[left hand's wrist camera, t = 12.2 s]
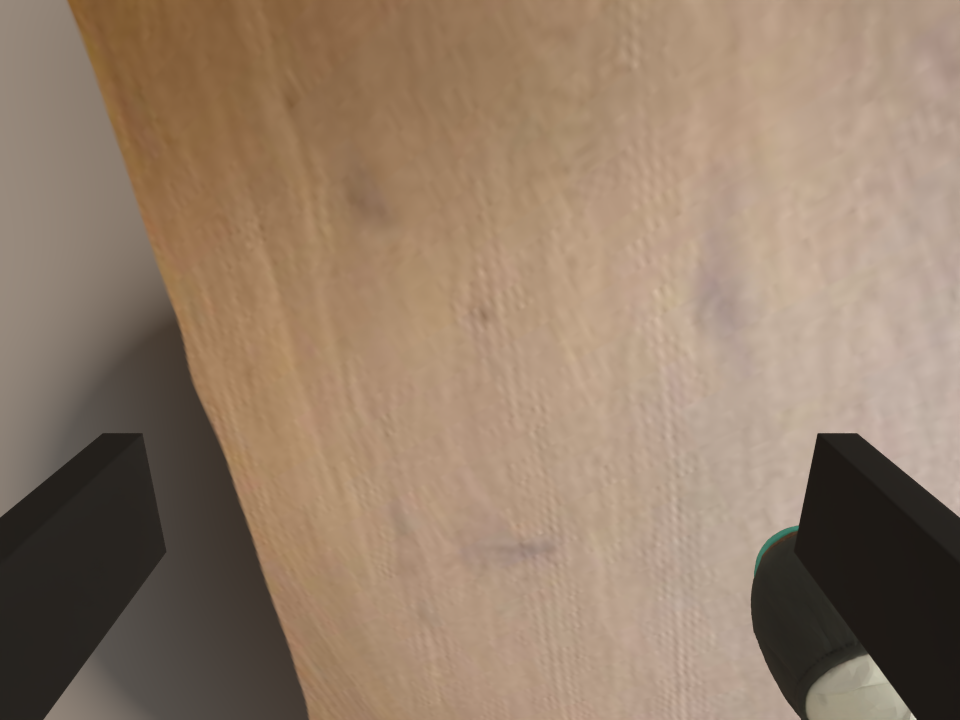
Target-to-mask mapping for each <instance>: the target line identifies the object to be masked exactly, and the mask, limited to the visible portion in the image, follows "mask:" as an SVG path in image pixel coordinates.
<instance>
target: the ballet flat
mask: <svg viewBox="0 0 960 720" xmlns="http://www.w3.org/2000/svg"><path fill="white" fill-rule="evenodd" d="M798 528H799V526H794V527H790V528H787V529H784V530H782V531H780V532H778V533H777V534H775V535H773V536H772V537H771V538H770V539H768V540H767V542H766V543H765V544H764V545H763V547H762V548H761V550H760V552H759V554H758V556H757V559H756V565H755V571H754V579H753V585H752V592H751V615H752V622H753V630H754V633H755V636H756V639H757V640H758V643H759V646H760V649H761V651H762V653H763V656H764V658H765V661H766V663H767V665H768V668H769V670H770V672H771V674H772V675H773V677H774V679H775V681H776V683H777V684H778V686H779V688H780V690H781V692H782V694H783V695H784V697H785V699H786V700H787V702H788V703H789V704H790V705H791V707H792V708H793V709H794V711H795V712H796V713H797V715H798V716H799V717H800V718H801V720H917V719H916V718H915V717H914V715H913V714H912V713H911V711H910V710H909V709H908V707H907V706H906V704H905V703H904V702H903V700H902V699H901V698H900V696H899V695H898V694H897V692H896V691H895V689H894V688H893V687H892V685H891V684H890V683H889V681H888V680H887V678H886V677H885V676H884V674H883V673H882V672H881V670H880V669H879V668H878V666H877V665H876V663H875V662H874V661H873V659H872V658H871V657H870V655H869V654H868V653H867V651H866V650H865V648H864V647H863V646H862V644H861V643H860V642H859V640H858V639H857V638H856V636H855V635H854V633H853V632H852V631H851V629H850V628H849V627H848V625H847V624H846V623H845V621H844V620H843V618H842V617H841V616H840V614H839V613H838V612H837V610H836V609H835V608H834V606H833V605H832V603H831V602H830V601H829V599H828V598H827V597H826V595H825V594H824V593H823V591H822V590H821V588H820V587H819V586H818V584H817V583H816V582H815V580H814V579H813V577H812V576H811V575H810V573H809V572H808V571H807V569H806V568H805V567H804V565H803V564H802V562H801V561H800V560H799V558H798V557H797V556H796V554H795V553H794V548H795V543H796V538H797V533H798Z"/></svg>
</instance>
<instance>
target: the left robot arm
mask: <svg viewBox="0 0 960 720" xmlns="http://www.w3.org/2000/svg"><path fill="white" fill-rule="evenodd" d="M165 553H166V548H165V543H164V538H163V533H162V528H161V523H160V518H159V513H158V508H157V503H156V498H155V494H154V489H153V484H152V479H151V474H150V469H149V464H148V459H147V454H146V449H145V444H144V439H143V434H142V433H103V434H102V435H100V436H99V437H98V438H97V439H95V440H94V441H93V442H92V443H91V444H89V445H88V446H87V447H86V448H84V449H83V450H82V451H81V452H80V453H78V454H77V455H76V456H75V457H74V458H72V459H71V460H70V461H69V462H67V463H66V464H65V465H64V466H63V467H61V468H60V469H59V470H58V471H56V472H55V473H54V474H53V475H52V476H50V477H49V478H48V479H47V480H46V481H44V482H43V483H42V484H41V485H39V486H38V487H37V488H36V489H35V490H33V491H32V492H31V493H30V494H28V495H27V496H26V497H25V498H24V499H22V500H21V501H20V502H19V503H18V504H16V505H15V506H14V507H13V508H11V509H10V510H9V511H8V512H7V513H5V514H4V515H3V516H2V517H0V720H43V719H44V718H45V717H46V715H47V714H48V713H49V711H50V710H51V709H52V707H53V706H54V704H55V703H56V702H57V700H58V699H59V698H60V696H61V695H62V694H63V692H64V691H65V689H66V688H67V687H68V685H69V684H70V683H71V681H72V680H73V678H74V677H75V676H76V674H77V673H78V672H79V670H80V669H81V668H82V666H83V665H84V663H85V662H86V661H87V659H88V658H89V657H90V655H91V654H92V653H93V651H94V650H95V648H96V647H97V646H98V644H99V643H100V642H101V640H102V639H103V638H104V636H105V635H106V633H107V632H108V631H109V629H110V628H111V627H112V625H113V624H114V623H115V621H116V620H117V618H118V617H119V616H120V614H121V613H122V612H123V610H124V609H125V607H126V606H127V605H128V603H129V602H130V601H131V599H132V598H133V597H134V595H135V594H136V593H137V591H138V590H139V588H140V587H141V586H142V584H143V583H144V582H145V580H146V579H147V577H148V576H149V575H150V573H151V572H152V571H153V569H154V568H155V567H156V565H157V564H158V562H159V561H160V560H161V558H162V557H163V556H164V554H165ZM794 553H795V554H796V556H797V557H798V558H799V560H800V561H801V562H802V564H803V565H804V567H805V568H806V569H807V571H808V572H809V573H810V575H811V576H812V577H813V579H814V580H815V582H816V583H817V584H818V586H819V587H820V588H821V590H822V591H823V593H824V594H825V595H826V597H827V598H828V599H829V601H830V602H831V603H832V605H833V606H834V608H835V609H836V610H837V612H838V613H839V614H840V616H841V617H842V618H843V620H844V621H845V623H846V624H847V625H848V627H849V628H850V629H851V631H852V632H853V633H854V635H855V636H856V638H857V639H858V640H859V642H860V643H861V644H862V646H863V647H864V648H865V650H866V651H867V653H868V654H869V655H870V657H871V658H872V659H873V661H874V662H875V663H876V665H877V666H878V668H879V669H880V670H881V672H882V673H883V674H884V676H885V677H886V678H887V680H888V681H889V683H890V684H891V685H892V687H893V688H894V689H895V691H896V692H897V694H898V695H899V696H900V698H901V699H902V700H903V702H904V703H905V704H906V706H907V707H908V709H909V710H910V711H911V713H912V714H913V715H914V717H915V718H916V719H917V720H960V517H958V516H957V515H956V514H955V513H953V512H952V511H951V510H950V509H949V508H947V507H946V506H945V505H944V504H942V503H941V502H940V501H939V500H938V499H936V498H935V497H934V496H933V495H932V494H930V493H929V492H928V491H927V490H925V489H924V488H923V487H922V486H921V485H919V484H918V483H917V482H916V481H914V480H913V479H912V478H911V477H910V476H908V475H907V474H906V473H905V472H904V471H902V470H901V469H900V468H899V467H897V466H896V465H895V464H894V463H893V462H891V461H890V460H889V459H888V458H886V457H885V456H884V455H883V454H882V453H880V452H879V451H878V450H877V449H876V448H874V447H873V446H872V445H871V444H869V443H868V442H867V441H866V440H865V439H863V438H862V437H861V436H860V435H858V434H857V433H818V434H817V439H816V444H815V449H814V454H813V459H812V464H811V469H810V474H809V479H808V484H807V489H806V493H805V498H804V503H803V508H802V513H801V518H800V523H799V528H798V533H797V538H796V543H795V548H794Z"/></svg>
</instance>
